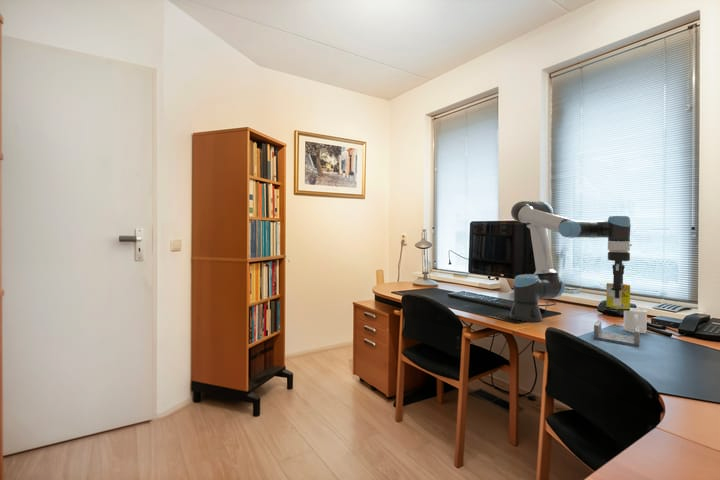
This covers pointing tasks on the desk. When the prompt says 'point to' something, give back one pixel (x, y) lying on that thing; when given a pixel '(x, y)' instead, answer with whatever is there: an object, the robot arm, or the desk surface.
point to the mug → (635, 320)
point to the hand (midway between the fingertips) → (617, 304)
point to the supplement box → (624, 298)
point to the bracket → (616, 336)
